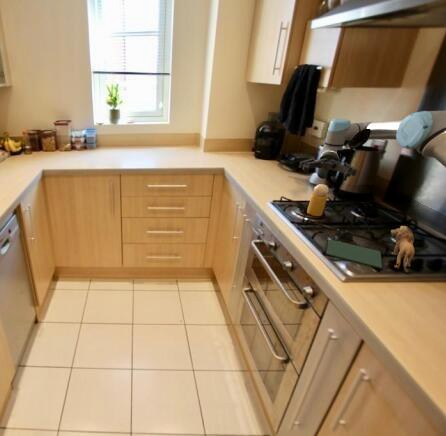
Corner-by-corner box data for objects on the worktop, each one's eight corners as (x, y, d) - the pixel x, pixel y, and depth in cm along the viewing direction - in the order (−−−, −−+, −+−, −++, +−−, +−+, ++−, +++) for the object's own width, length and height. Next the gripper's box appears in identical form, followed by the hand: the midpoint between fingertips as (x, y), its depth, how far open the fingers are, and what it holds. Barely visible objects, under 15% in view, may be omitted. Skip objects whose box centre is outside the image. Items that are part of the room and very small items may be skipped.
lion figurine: (382, 246, 103) (392, 222, 99) (402, 249, 101) (414, 225, 97) (395, 272, 91) (408, 246, 87) (419, 276, 89) (433, 250, 85)
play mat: (379, 253, 100) (380, 251, 99) (381, 269, 92) (382, 267, 92) (328, 241, 107) (328, 239, 106) (326, 255, 99) (326, 253, 99)
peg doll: (322, 212, 125) (331, 183, 119) (321, 218, 121) (330, 188, 115) (307, 209, 127) (315, 181, 122) (305, 214, 124) (314, 185, 118)
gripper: (360, 172, 136) (360, 189, 121) (296, 163, 148) (288, 177, 133) (366, 155, 132) (367, 170, 117) (300, 147, 145) (293, 160, 129)
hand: (325, 174), depth 125 cm, fingers open, 13 cm apart
